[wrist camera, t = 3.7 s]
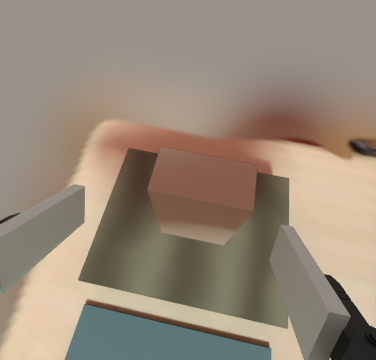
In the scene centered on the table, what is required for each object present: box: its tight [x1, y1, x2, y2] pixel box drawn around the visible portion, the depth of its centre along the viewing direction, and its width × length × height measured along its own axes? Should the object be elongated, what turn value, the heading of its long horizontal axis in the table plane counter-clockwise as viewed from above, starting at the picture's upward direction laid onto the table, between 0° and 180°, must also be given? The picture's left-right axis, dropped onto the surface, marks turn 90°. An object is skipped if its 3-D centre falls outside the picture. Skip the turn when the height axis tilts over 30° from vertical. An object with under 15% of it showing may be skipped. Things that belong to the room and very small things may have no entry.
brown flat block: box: [78, 148, 289, 329], centre depth 24 cm, size 18×14×4 cm
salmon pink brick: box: [147, 147, 257, 246], centre depth 18 cm, size 6×3×10 cm, turn 78°
